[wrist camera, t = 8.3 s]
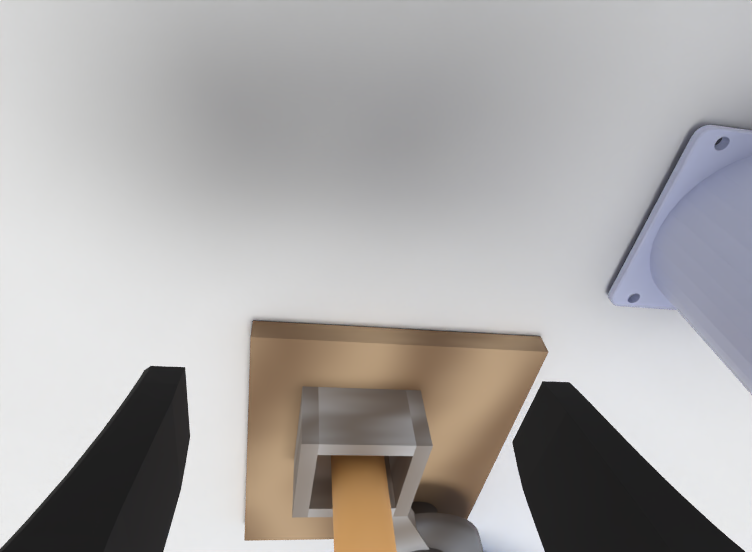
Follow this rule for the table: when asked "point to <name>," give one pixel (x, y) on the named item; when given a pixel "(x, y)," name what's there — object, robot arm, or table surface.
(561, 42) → the table surface
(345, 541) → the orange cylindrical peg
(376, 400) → the wooden board with socket
